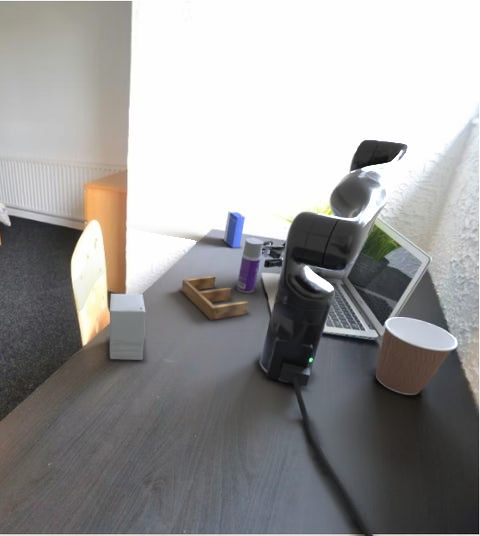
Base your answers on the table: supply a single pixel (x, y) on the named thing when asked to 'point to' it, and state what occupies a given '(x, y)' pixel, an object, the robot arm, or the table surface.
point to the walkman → (234, 229)
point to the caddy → (212, 298)
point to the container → (249, 265)
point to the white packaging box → (127, 326)
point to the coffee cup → (411, 354)
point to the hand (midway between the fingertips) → (255, 257)
